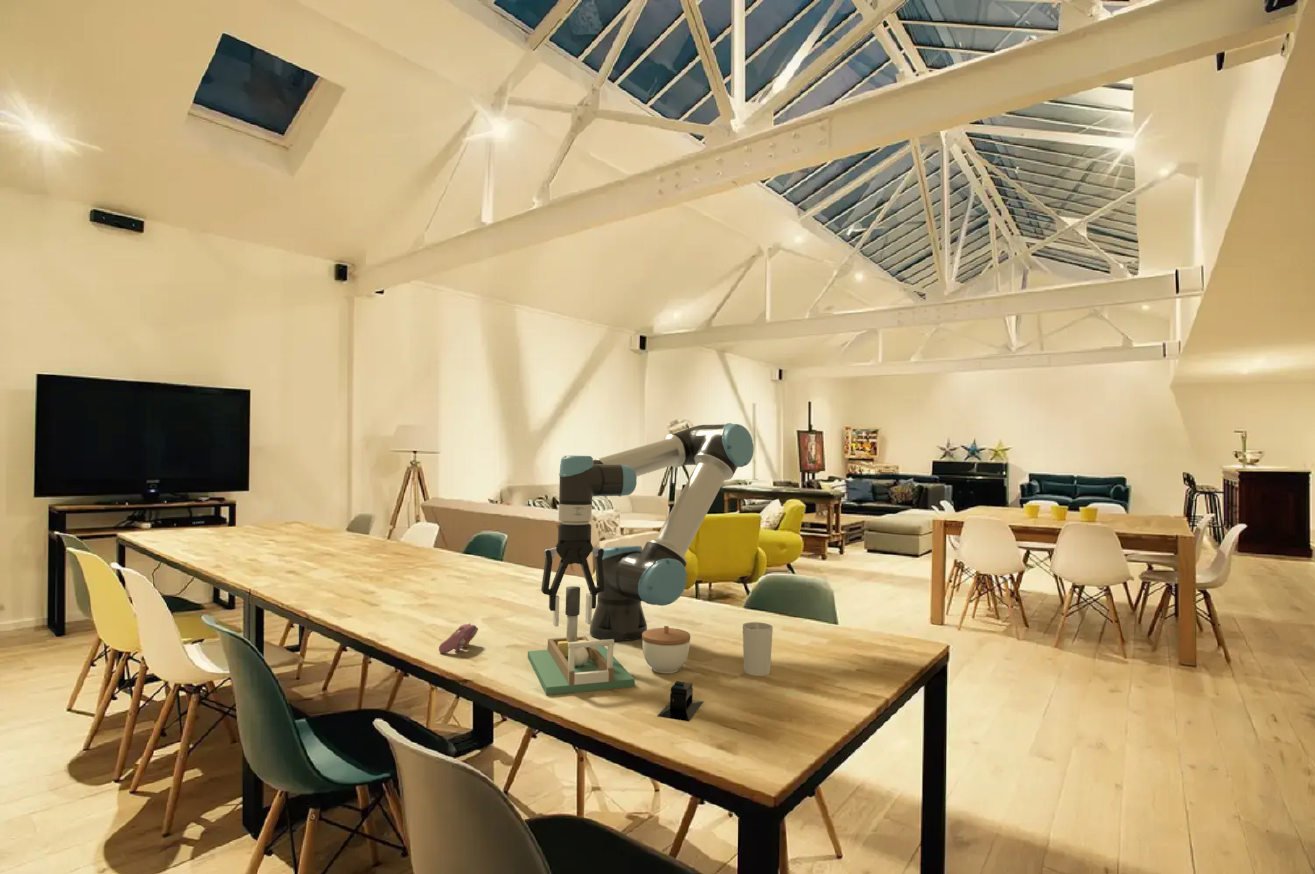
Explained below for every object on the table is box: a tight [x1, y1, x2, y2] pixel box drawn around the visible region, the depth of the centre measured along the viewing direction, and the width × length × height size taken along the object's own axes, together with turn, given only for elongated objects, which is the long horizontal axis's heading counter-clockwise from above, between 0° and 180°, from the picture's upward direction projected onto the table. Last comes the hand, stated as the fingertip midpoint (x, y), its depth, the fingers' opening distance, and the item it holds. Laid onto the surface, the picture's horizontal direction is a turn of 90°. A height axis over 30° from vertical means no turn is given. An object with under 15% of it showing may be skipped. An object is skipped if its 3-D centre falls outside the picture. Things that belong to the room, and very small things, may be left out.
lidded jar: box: [641, 625, 691, 674], centre depth 145 cm, size 11×11×9 cm
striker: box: [558, 585, 587, 657], centre depth 149 cm, size 6×3×15 cm, turn 109°
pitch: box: [527, 635, 636, 696], centre depth 142 cm, size 18×25×10 cm
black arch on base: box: [656, 680, 705, 722], centre depth 122 cm, size 13×8×5 cm, turn 161°
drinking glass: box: [742, 621, 774, 677], centre depth 145 cm, size 7×7×10 cm
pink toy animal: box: [438, 623, 479, 654], centre depth 157 cm, size 10×5×7 cm, turn 169°
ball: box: [574, 648, 589, 666], centre depth 141 cm, size 4×4×4 cm
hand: (572, 623), depth 149 cm, fingers open, 7 cm apart
